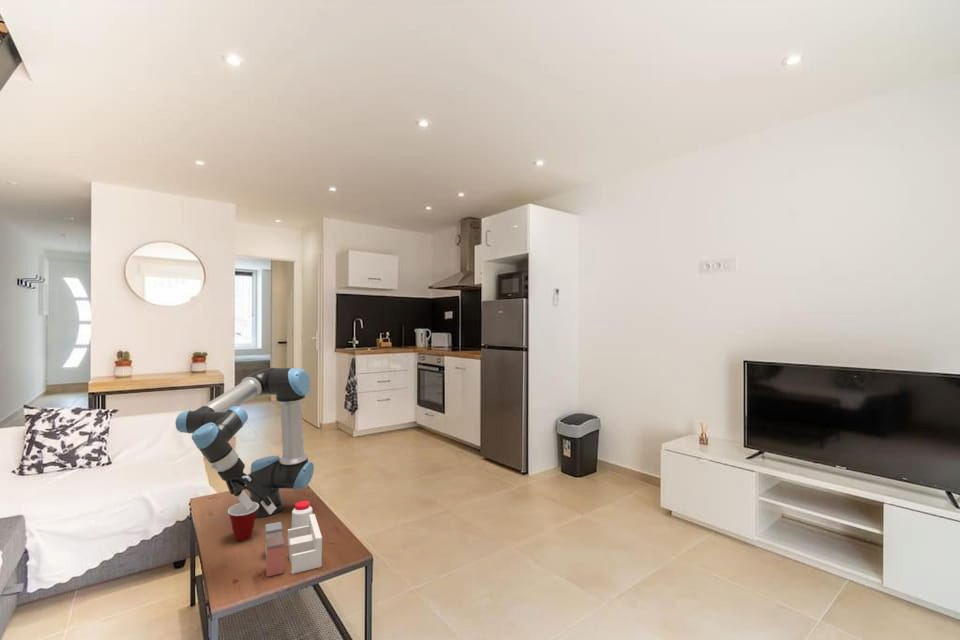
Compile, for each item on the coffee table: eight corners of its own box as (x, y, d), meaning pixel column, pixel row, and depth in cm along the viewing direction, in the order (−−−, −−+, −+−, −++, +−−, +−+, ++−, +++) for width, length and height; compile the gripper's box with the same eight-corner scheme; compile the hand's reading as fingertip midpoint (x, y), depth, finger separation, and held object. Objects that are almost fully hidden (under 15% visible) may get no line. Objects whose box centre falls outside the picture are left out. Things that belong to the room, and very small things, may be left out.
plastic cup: (226, 547, 161) (226, 515, 161) (227, 534, 170) (228, 504, 170) (258, 540, 166) (259, 509, 166) (258, 529, 175) (259, 499, 175)
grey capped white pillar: (265, 551, 158) (265, 524, 158) (280, 547, 160) (281, 521, 160) (265, 559, 152) (265, 531, 152) (281, 555, 155) (282, 528, 155)
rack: (287, 545, 162) (287, 518, 163) (314, 539, 167) (314, 513, 167) (291, 573, 144) (292, 543, 144) (321, 566, 148) (322, 537, 148)
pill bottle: (304, 536, 170) (305, 508, 170) (287, 534, 171) (287, 506, 171) (316, 527, 177) (316, 500, 177) (299, 525, 179) (299, 498, 179)
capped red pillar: (265, 567, 147) (266, 538, 147) (282, 563, 149) (282, 535, 150) (266, 577, 142) (266, 547, 142) (283, 573, 144) (284, 543, 144)
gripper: (198, 470, 148) (232, 513, 155) (239, 475, 135) (274, 522, 143) (218, 454, 153) (249, 496, 161) (258, 458, 141) (291, 504, 148)
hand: (261, 509), depth 152 cm, fingers open, 13 cm apart
